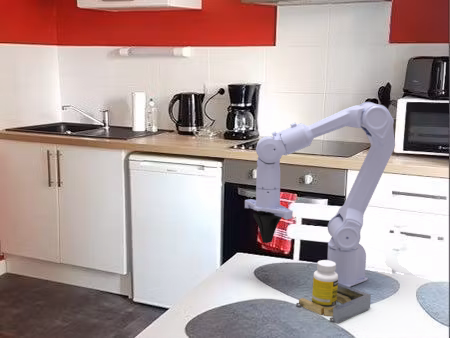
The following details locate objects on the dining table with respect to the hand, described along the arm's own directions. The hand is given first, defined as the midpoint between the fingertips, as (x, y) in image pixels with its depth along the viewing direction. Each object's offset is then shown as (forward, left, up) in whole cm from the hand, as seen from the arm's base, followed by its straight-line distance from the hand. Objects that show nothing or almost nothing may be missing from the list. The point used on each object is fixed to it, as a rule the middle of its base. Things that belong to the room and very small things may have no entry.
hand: (267, 241), depth 139 cm
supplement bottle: (0, +19, -10) cm, 21 cm away
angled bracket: (0, +20, -10) cm, 22 cm away
